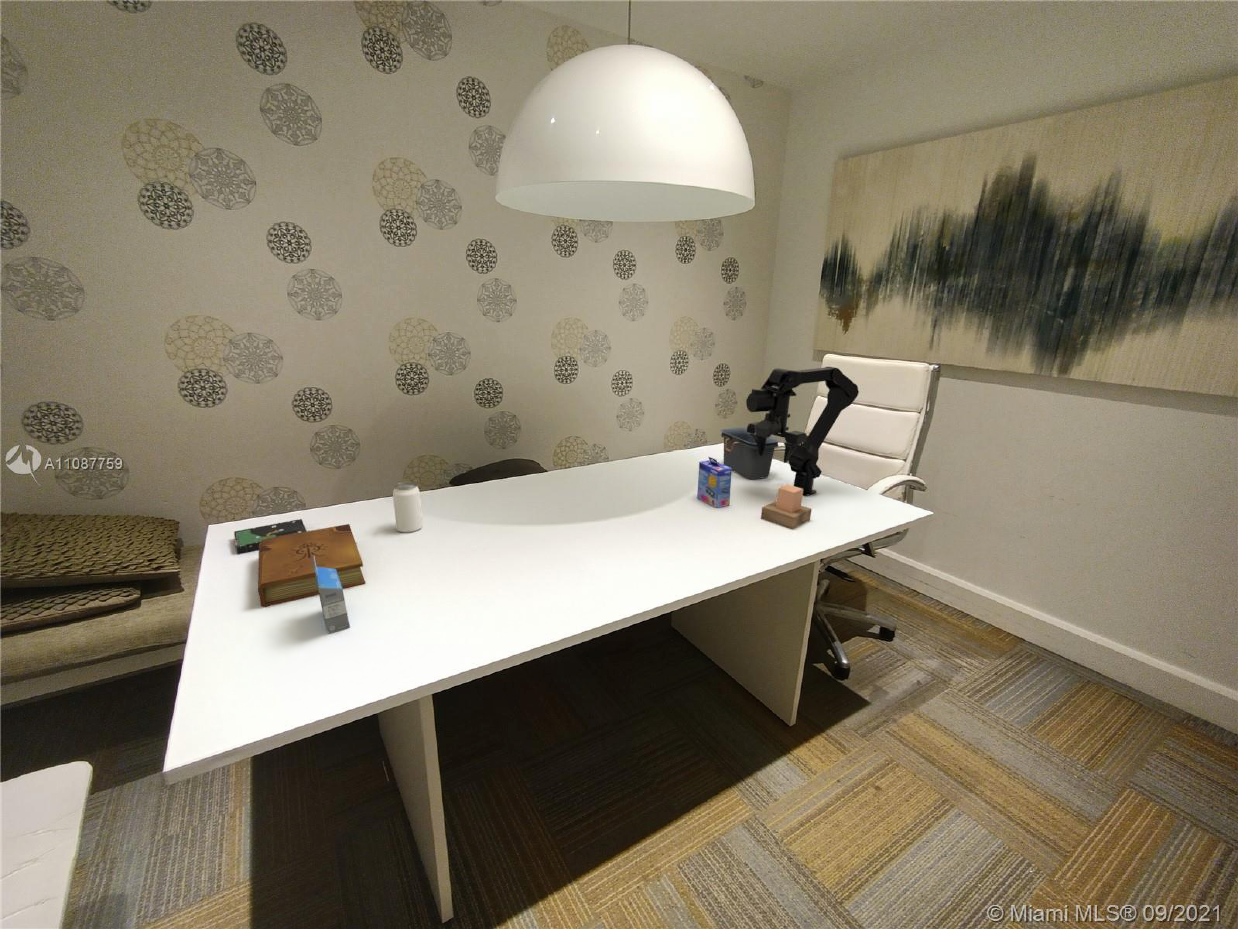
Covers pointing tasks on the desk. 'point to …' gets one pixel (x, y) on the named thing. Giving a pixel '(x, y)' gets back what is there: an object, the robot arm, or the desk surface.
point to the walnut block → (785, 516)
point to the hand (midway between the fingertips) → (772, 459)
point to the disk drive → (264, 534)
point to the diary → (306, 563)
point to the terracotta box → (789, 498)
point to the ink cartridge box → (714, 483)
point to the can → (407, 507)
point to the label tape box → (331, 599)
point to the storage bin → (747, 453)
